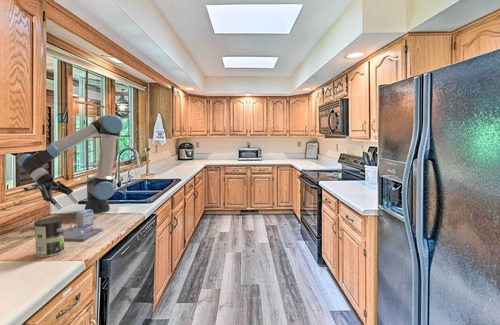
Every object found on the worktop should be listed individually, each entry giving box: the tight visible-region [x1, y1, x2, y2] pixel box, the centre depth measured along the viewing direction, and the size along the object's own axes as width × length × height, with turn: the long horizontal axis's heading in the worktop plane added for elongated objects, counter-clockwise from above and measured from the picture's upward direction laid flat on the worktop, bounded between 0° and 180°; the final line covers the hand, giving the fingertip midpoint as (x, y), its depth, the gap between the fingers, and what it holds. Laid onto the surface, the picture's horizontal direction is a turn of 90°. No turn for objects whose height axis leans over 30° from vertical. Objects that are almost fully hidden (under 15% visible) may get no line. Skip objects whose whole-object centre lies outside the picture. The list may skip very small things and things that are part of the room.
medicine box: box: [75, 209, 94, 228], centre depth 163 cm, size 8×4×9 cm, turn 168°
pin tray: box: [63, 224, 104, 242], centre depth 148 cm, size 16×18×4 cm
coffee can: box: [33, 217, 65, 258], centre depth 125 cm, size 10×10×14 cm
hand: (69, 205), depth 161 cm, fingers open, 13 cm apart
